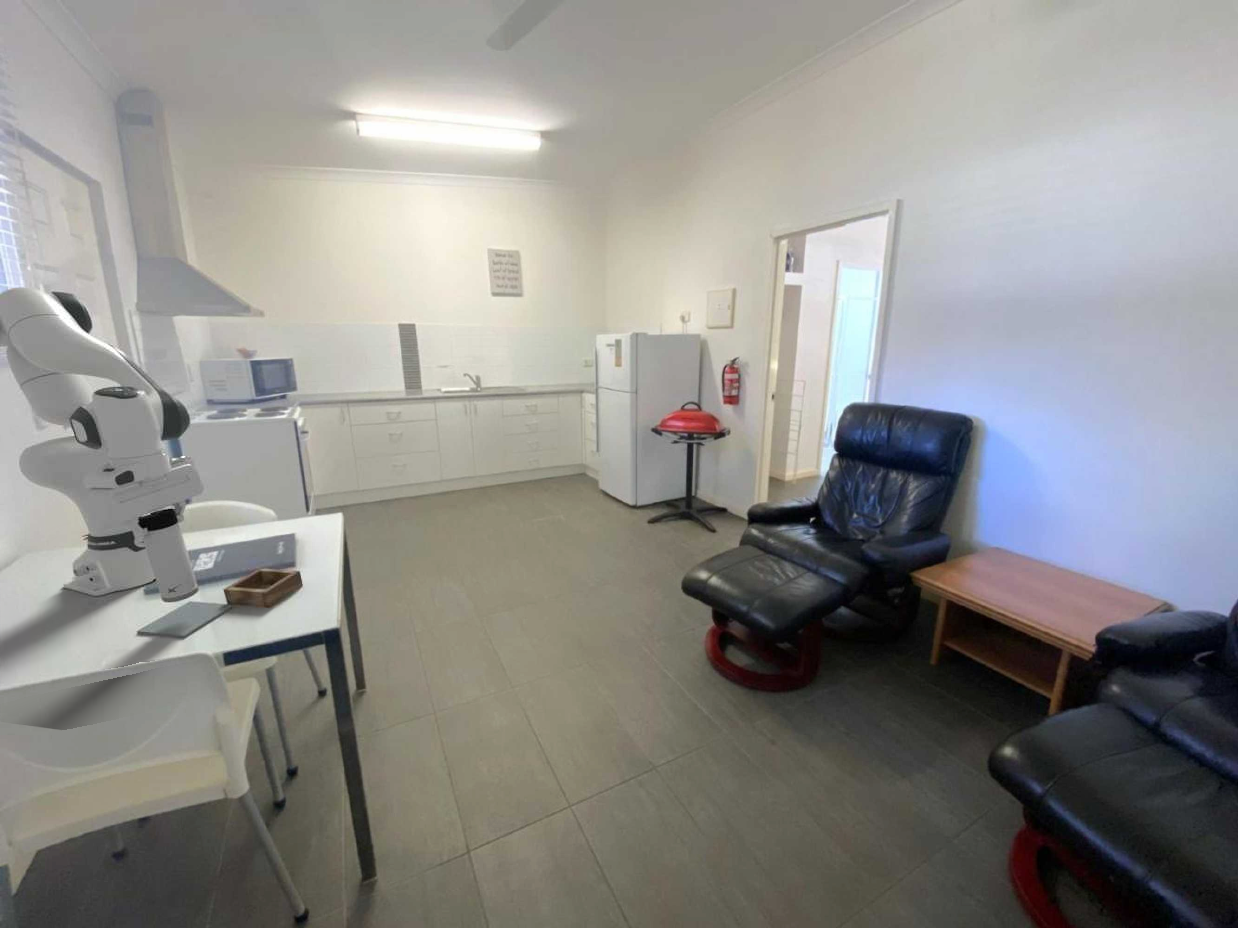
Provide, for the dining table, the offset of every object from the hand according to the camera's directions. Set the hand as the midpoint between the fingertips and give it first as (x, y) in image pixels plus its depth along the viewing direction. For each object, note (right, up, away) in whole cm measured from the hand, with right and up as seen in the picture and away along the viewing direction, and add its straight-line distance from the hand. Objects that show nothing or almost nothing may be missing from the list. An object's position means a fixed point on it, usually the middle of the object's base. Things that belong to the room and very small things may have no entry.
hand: (160, 529), depth 109 cm
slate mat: (0, -21, +6) cm, 22 cm away
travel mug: (+1, -15, +5) cm, 16 cm away
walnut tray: (+11, -18, +16) cm, 27 cm away
